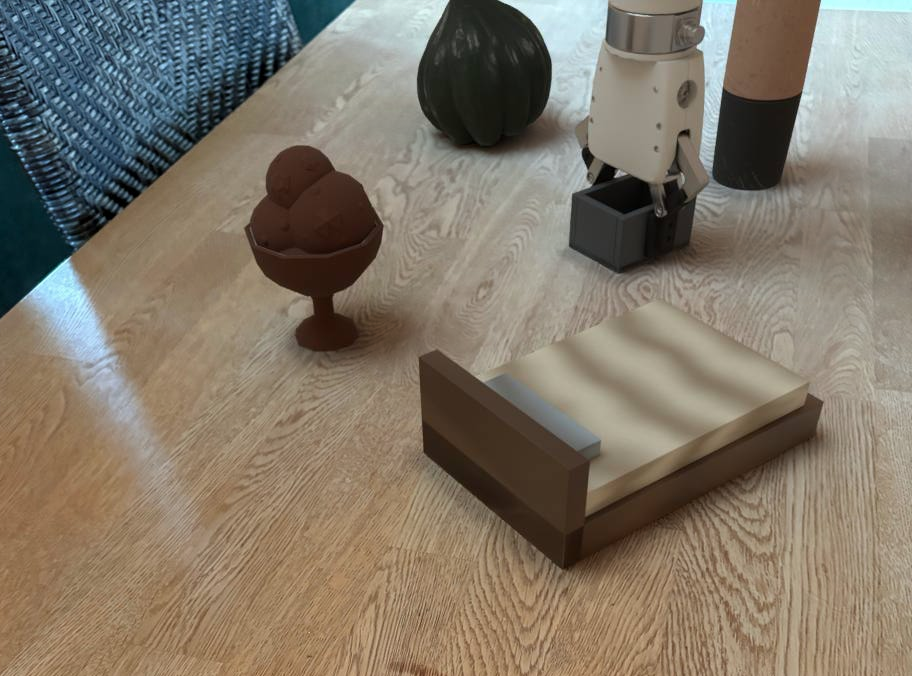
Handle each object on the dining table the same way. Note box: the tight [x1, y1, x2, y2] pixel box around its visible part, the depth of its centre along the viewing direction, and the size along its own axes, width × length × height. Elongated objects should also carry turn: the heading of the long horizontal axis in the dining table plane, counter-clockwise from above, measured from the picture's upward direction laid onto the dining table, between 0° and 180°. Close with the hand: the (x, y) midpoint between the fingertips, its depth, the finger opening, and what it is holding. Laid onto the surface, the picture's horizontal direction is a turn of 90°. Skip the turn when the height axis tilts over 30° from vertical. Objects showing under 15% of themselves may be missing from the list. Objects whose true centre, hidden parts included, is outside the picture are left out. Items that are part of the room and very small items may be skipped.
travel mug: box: [711, 0, 822, 191], centre depth 99 cm, size 8×8×20 cm
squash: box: [416, 0, 553, 147], centre depth 113 cm, size 14×15×15 cm
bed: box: [418, 298, 825, 570], centre depth 72 cm, size 24×16×8 cm, turn 125°
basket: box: [568, 173, 698, 274], centre depth 95 cm, size 9×7×5 cm
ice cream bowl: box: [243, 144, 385, 352], centre depth 82 cm, size 11×11×15 cm
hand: (629, 237), depth 96 cm, fingers closed on basket, 7 cm apart
